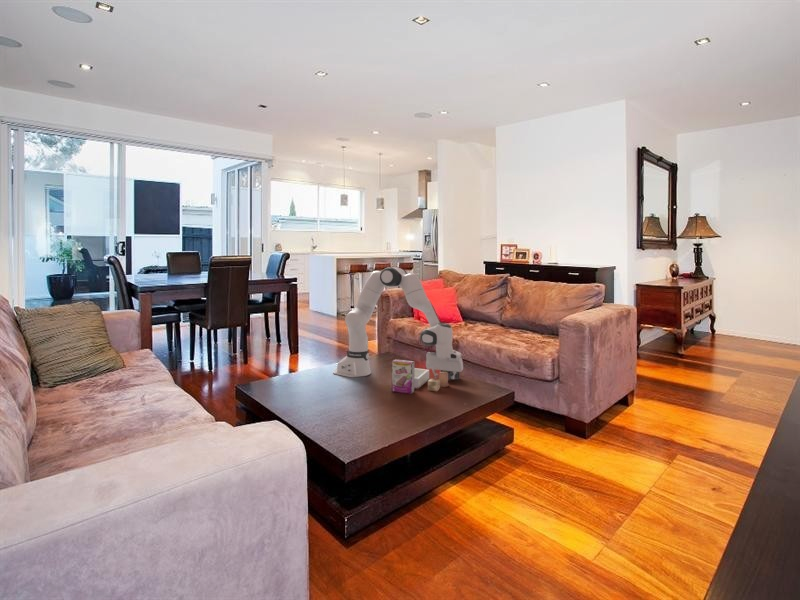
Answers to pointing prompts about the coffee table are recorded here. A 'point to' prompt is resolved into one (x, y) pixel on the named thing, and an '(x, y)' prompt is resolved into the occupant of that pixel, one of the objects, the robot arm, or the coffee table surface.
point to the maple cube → (434, 384)
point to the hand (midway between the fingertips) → (444, 378)
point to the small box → (450, 373)
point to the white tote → (420, 377)
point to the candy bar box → (403, 376)
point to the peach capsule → (443, 379)
